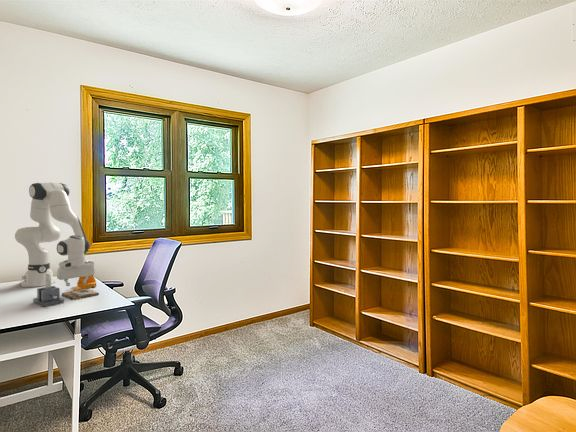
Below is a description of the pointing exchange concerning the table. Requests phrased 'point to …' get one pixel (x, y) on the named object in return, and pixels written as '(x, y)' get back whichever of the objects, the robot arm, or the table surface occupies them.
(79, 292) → the loop
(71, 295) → the board
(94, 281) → the orange rounded piece
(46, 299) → the vise
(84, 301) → the table surface
